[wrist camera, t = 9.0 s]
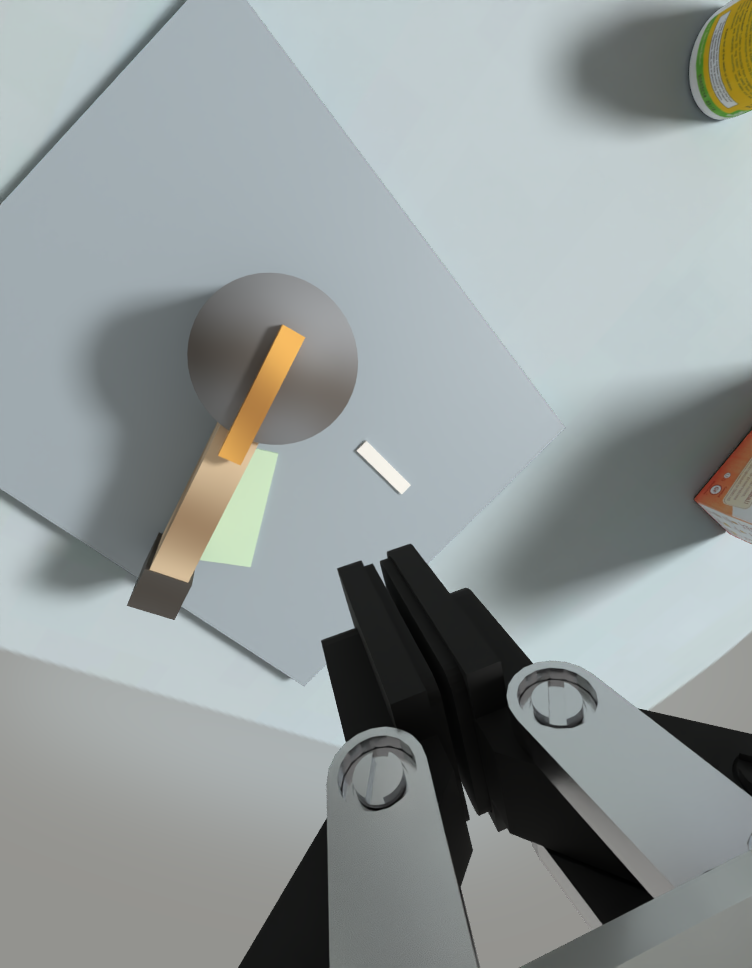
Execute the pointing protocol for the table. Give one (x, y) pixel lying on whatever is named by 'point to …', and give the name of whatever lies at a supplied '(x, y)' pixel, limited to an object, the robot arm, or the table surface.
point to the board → (176, 303)
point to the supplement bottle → (724, 62)
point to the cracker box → (732, 493)
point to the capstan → (249, 407)
